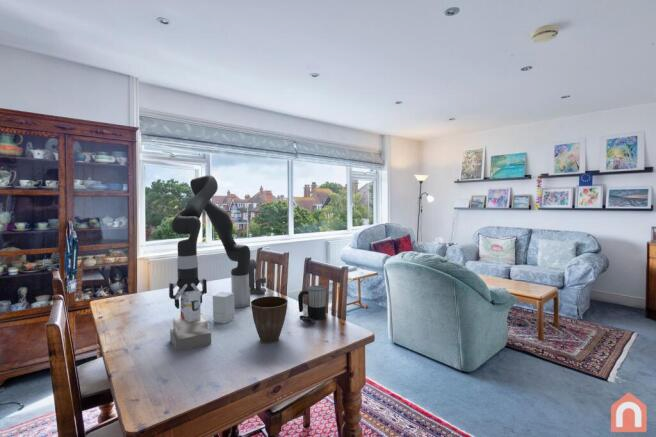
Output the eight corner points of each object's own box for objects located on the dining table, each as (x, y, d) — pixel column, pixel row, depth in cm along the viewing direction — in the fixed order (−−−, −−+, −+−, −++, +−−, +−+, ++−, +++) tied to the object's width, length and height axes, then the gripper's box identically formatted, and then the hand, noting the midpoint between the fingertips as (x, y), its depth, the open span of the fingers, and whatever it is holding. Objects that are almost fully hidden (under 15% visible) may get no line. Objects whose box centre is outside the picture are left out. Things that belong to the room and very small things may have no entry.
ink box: (180, 317, 136) (179, 289, 135) (192, 314, 139) (191, 286, 139) (189, 323, 130) (188, 293, 129) (201, 319, 133) (200, 290, 133)
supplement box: (235, 318, 162) (234, 292, 161) (225, 323, 155) (225, 297, 154) (222, 316, 164) (221, 291, 163) (212, 321, 157) (212, 295, 156)
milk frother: (324, 313, 169) (324, 284, 168) (331, 324, 153) (331, 293, 153) (296, 315, 166) (296, 286, 165) (300, 327, 150) (300, 295, 149)
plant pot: (294, 335, 141) (294, 298, 140) (275, 350, 127) (274, 309, 126) (265, 330, 147) (264, 294, 146) (243, 343, 133) (243, 304, 133)
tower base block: (203, 334, 144) (202, 322, 144) (211, 345, 133) (210, 332, 133) (170, 341, 137) (170, 329, 136) (176, 353, 126) (175, 340, 126)
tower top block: (201, 324, 142) (201, 313, 141) (207, 333, 133) (207, 321, 132) (173, 330, 136) (173, 318, 135) (178, 339, 127) (177, 326, 126)
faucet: (268, 287, 219) (268, 257, 217) (265, 294, 203) (264, 261, 202) (240, 287, 218) (239, 257, 216) (234, 294, 202) (234, 262, 201)
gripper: (203, 262, 140) (204, 300, 141) (166, 266, 132) (167, 307, 133) (208, 265, 134) (209, 305, 135) (169, 270, 126) (170, 312, 127)
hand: (188, 306), depth 134 cm, fingers open, 7 cm apart
